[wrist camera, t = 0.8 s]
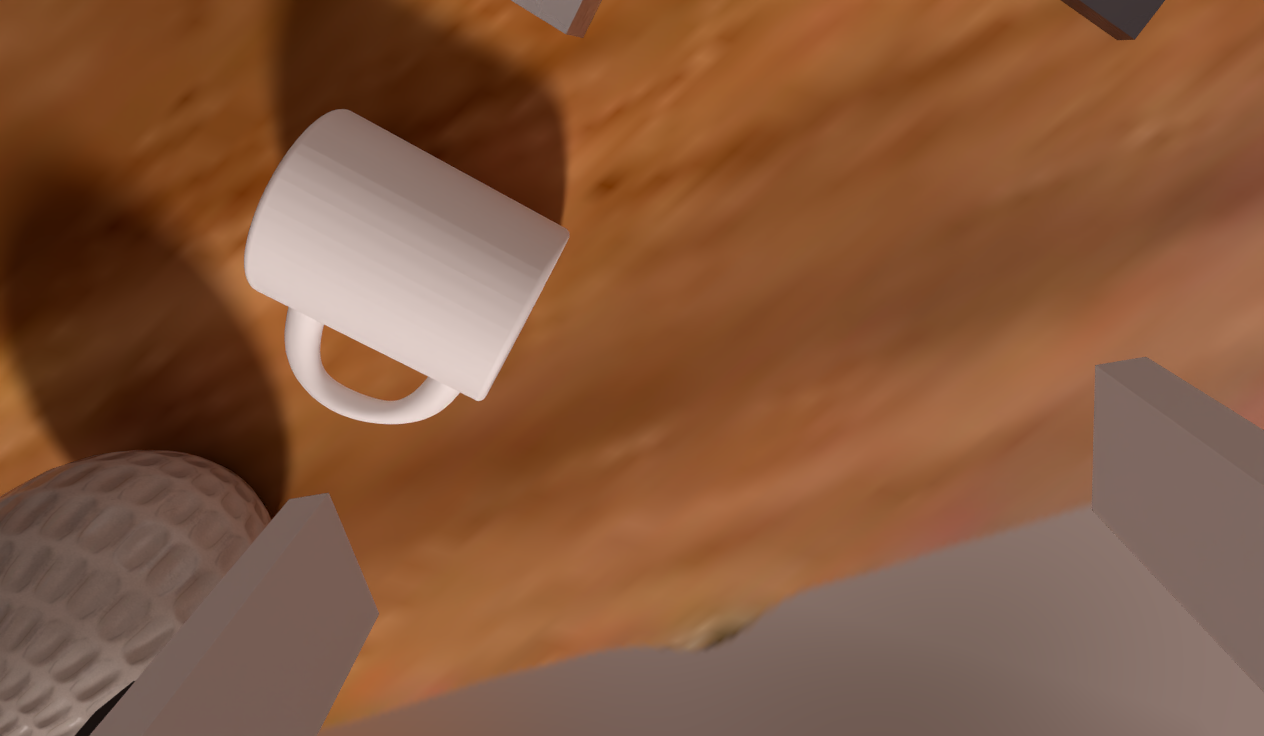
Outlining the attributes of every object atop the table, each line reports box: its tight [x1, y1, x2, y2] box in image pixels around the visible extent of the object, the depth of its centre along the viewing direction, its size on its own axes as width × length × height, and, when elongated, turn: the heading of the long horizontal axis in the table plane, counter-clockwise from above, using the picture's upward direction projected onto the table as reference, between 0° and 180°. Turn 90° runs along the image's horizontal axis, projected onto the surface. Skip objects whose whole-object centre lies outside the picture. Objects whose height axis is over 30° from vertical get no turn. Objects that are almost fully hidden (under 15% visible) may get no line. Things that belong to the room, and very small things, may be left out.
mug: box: [244, 109, 569, 424], centre depth 31 cm, size 12×10×8 cm
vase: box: [0, 450, 271, 736], centre depth 33 cm, size 13×13×17 cm
